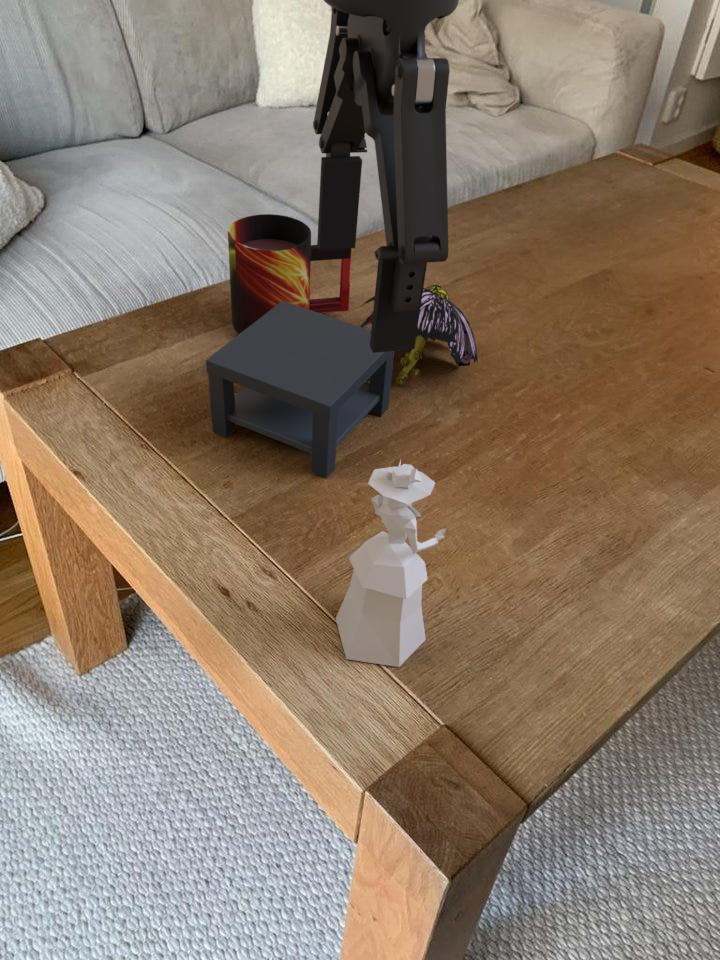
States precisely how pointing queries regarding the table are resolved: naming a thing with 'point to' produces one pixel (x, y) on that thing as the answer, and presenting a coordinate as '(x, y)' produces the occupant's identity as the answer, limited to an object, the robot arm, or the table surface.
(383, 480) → the figurine
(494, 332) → the table surface
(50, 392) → the table surface
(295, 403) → the stand
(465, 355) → the decorative flower
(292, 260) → the mug
